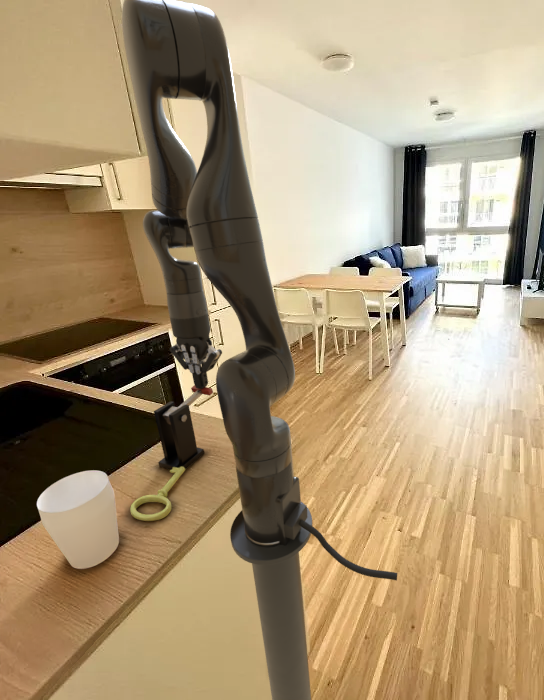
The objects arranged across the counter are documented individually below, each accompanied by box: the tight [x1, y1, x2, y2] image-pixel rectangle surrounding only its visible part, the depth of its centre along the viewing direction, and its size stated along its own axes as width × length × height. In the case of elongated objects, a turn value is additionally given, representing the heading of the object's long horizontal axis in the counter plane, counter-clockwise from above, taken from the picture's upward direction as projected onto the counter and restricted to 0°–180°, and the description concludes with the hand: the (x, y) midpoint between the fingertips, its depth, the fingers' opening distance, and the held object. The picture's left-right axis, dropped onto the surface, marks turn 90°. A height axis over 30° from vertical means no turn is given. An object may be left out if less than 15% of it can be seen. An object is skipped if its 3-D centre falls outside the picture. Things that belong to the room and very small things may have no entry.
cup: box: [36, 469, 120, 570], centre depth 55 cm, size 9×9×12 cm
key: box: [129, 467, 186, 522], centre depth 67 cm, size 7×12×2 cm, turn 6°
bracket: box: [153, 401, 205, 471], centre depth 75 cm, size 7×6×13 cm
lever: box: [163, 384, 214, 425], centre depth 77 cm, size 11×5×2 cm, turn 158°
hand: (201, 387), depth 81 cm, fingers closed
